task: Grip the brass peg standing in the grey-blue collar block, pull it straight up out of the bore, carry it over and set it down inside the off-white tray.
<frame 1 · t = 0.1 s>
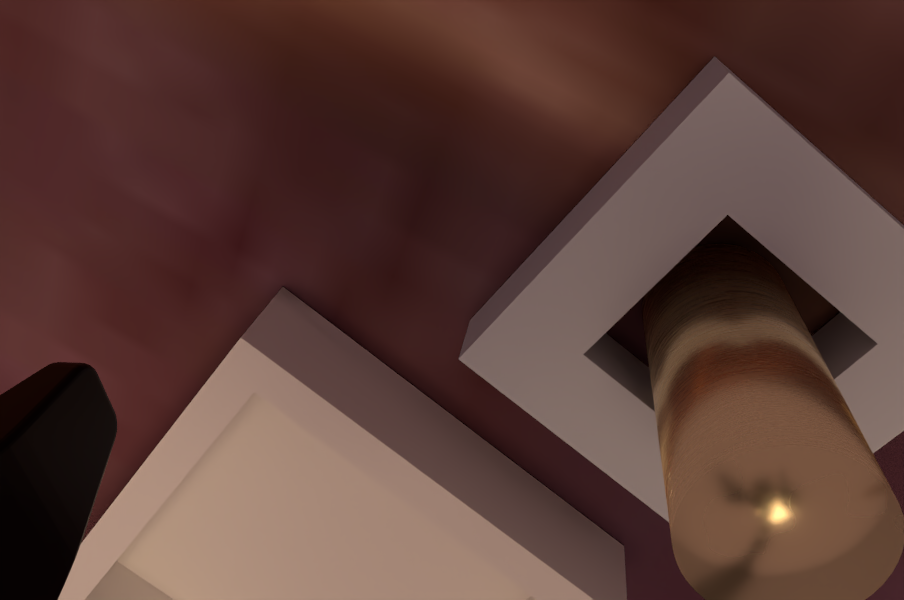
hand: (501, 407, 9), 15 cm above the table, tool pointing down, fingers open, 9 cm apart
brass peg: (713, 309, 24), resting in collar block
tray: (337, 545, 30), on the table
collar block: (713, 309, 24), on the table
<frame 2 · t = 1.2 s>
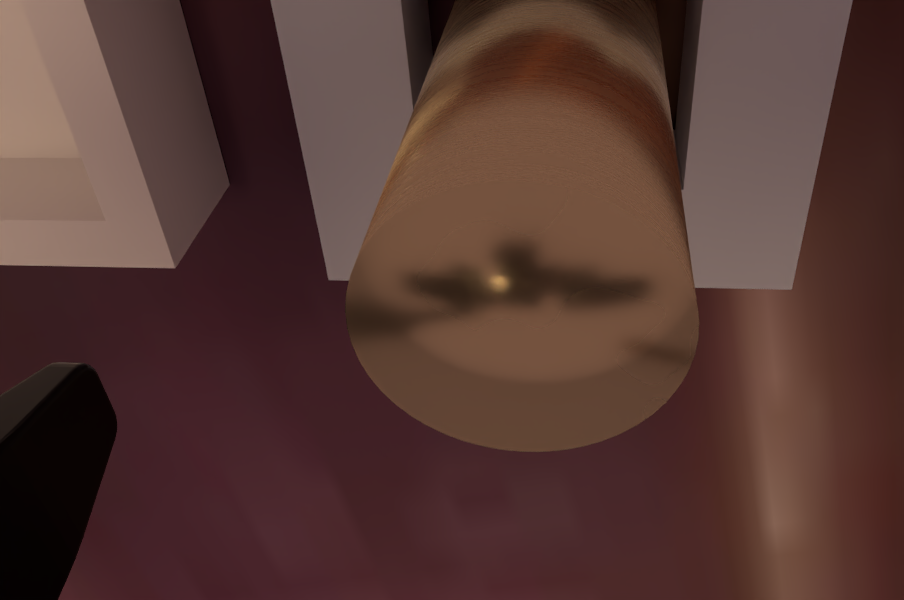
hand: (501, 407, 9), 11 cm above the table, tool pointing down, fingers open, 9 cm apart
brass peg: (554, 15, 17), resting in collar block
collar block: (554, 15, 17), on the table
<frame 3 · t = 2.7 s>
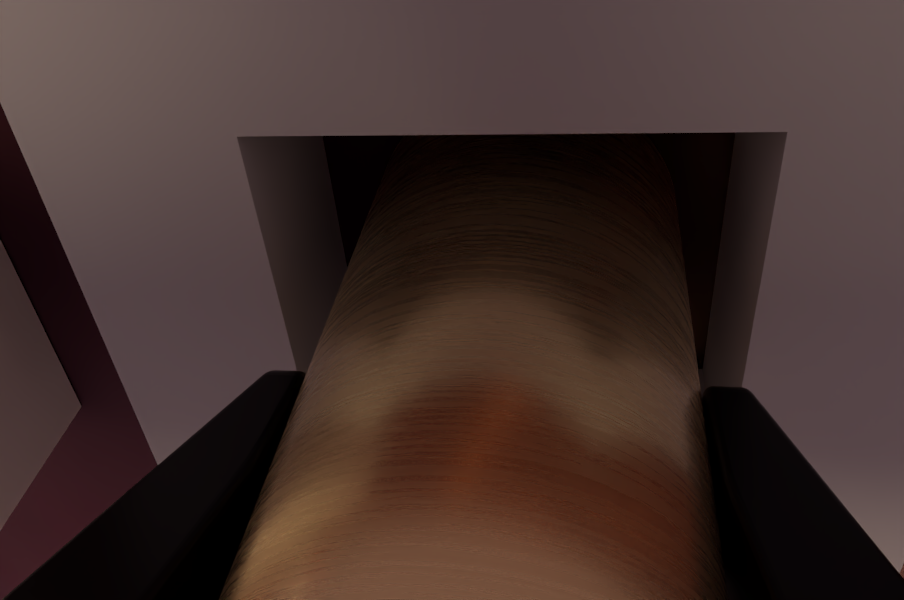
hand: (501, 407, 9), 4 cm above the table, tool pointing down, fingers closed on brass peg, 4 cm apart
brass peg: (524, 220, 12), resting in collar block, touching gripper
collar block: (523, 221, 12), on the table
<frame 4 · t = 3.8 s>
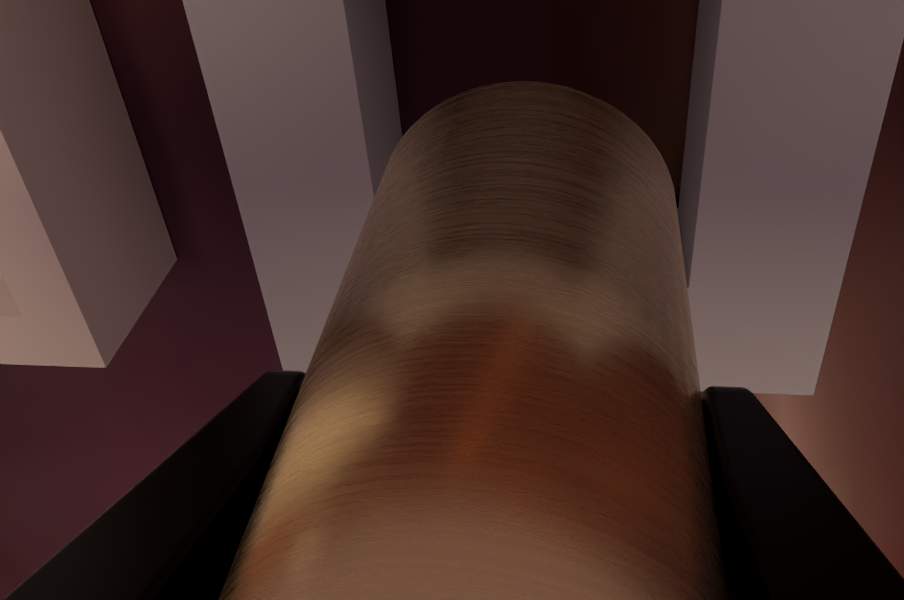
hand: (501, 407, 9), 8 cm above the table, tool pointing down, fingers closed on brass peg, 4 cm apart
brass peg: (524, 219, 12), point 4 cm above the table, touching gripper
collar block: (539, 81, 15), on the table
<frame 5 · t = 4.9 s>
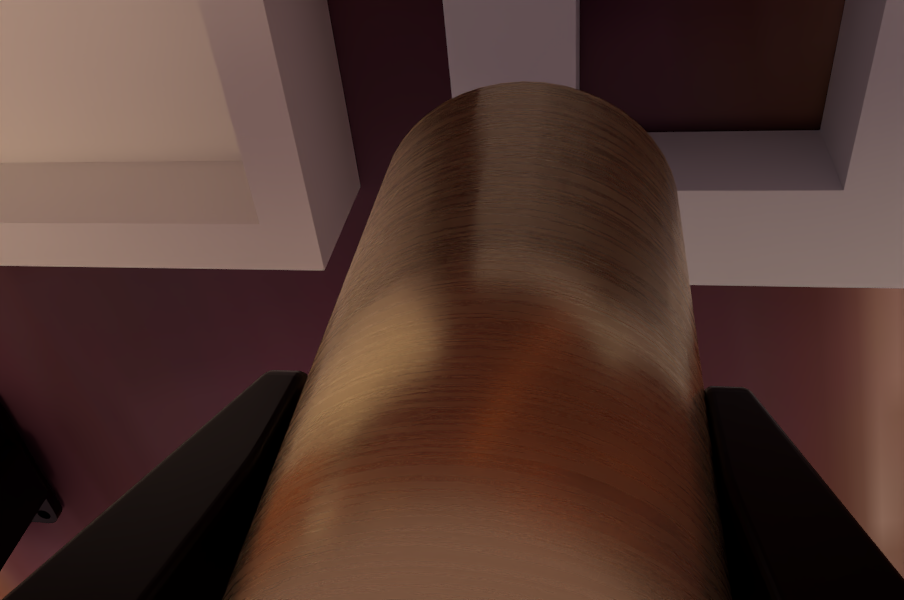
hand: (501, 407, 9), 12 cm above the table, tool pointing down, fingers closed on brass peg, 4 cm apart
brass peg: (526, 220, 12), point 8 cm above the table, touching gripper
collar block: (708, 17, 18), on the table
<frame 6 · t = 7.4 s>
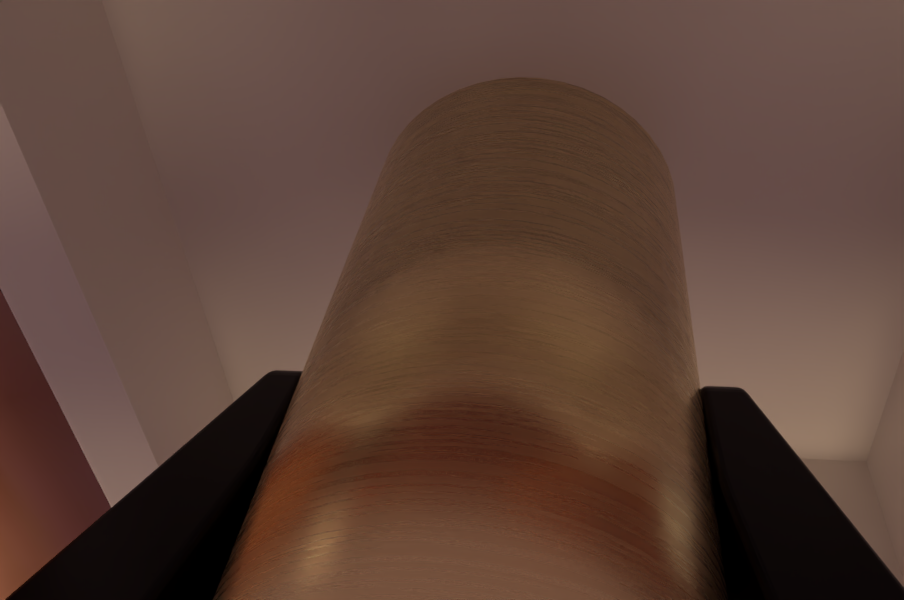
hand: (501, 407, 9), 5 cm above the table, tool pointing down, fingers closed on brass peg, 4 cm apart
brass peg: (523, 217, 12), point 2 cm above the table, touching gripper
tray: (534, 148, 13), on the table
when the fingers open (5 cm above the table, at t = 7.5 s): brass peg drops 1 cm, resting on tray.
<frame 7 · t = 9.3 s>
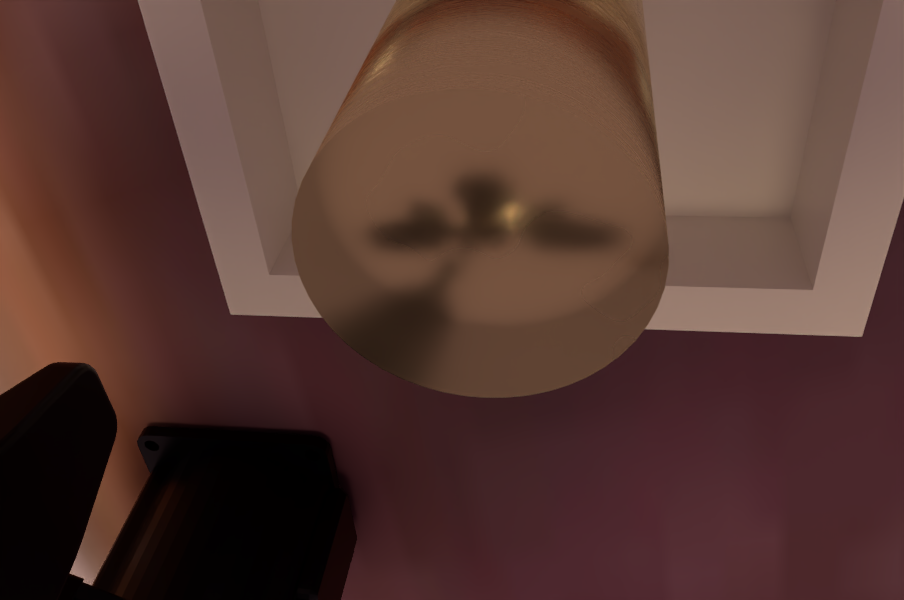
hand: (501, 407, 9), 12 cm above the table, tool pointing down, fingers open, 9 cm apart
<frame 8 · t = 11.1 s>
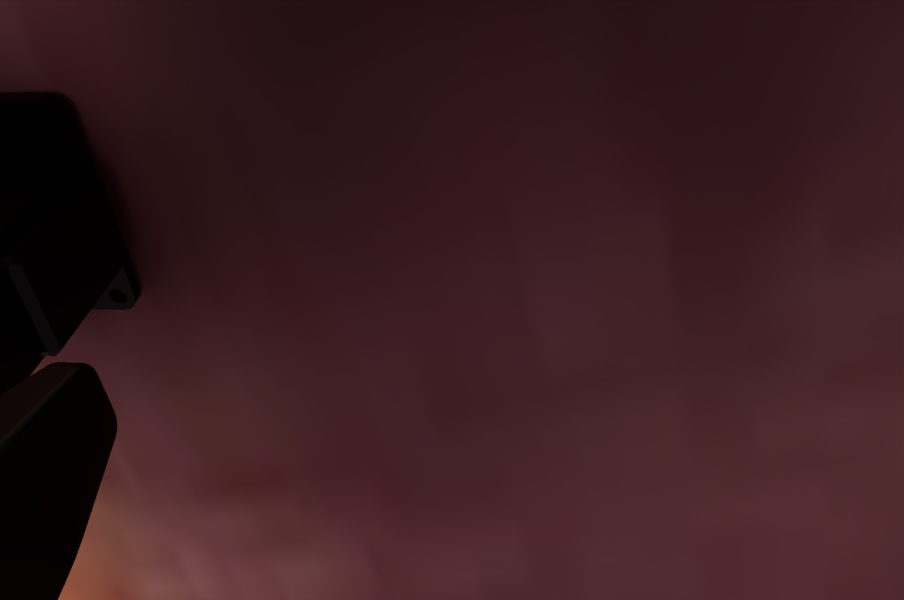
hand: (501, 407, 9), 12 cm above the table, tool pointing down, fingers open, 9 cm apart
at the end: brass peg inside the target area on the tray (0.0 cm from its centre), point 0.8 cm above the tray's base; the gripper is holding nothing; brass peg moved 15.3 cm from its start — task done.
